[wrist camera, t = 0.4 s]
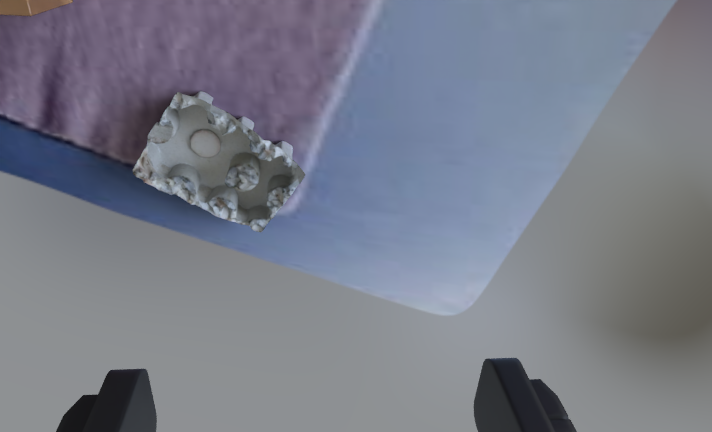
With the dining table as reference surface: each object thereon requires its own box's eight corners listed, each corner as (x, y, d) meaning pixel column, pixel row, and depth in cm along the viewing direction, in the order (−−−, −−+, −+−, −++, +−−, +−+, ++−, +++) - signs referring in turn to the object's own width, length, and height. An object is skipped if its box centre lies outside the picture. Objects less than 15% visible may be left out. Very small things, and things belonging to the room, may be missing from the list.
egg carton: (138, 150, 39) (121, 173, 35) (191, 71, 36) (178, 86, 33) (257, 223, 43) (253, 250, 39) (312, 156, 40) (313, 178, 37)
